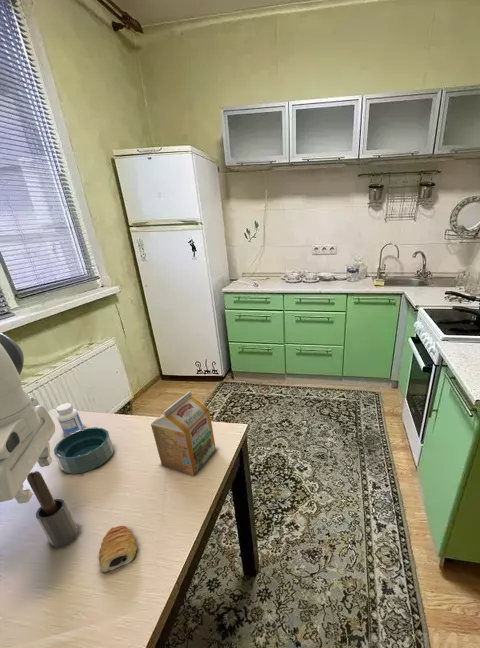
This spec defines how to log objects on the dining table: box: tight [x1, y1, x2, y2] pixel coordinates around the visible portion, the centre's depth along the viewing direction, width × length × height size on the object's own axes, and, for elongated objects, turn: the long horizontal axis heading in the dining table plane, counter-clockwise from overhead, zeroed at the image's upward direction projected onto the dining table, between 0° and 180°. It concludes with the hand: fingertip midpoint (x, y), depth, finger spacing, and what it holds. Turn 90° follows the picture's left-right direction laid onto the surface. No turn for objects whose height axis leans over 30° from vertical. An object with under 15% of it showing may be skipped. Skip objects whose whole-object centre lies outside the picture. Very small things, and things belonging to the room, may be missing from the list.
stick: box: [26, 470, 59, 517], centre depth 66 cm, size 2×2×18 cm
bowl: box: [53, 426, 115, 475], centre depth 91 cm, size 13×13×6 cm
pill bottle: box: [55, 402, 85, 437], centre depth 101 cm, size 6×5×10 cm
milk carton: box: [150, 391, 217, 476], centre depth 87 cm, size 11×10×19 cm
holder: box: [35, 498, 79, 548], centre depth 68 cm, size 5×5×9 cm
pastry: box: [98, 525, 138, 573], centre depth 66 cm, size 9×7×4 cm
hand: (37, 480), depth 63 cm, fingers open, 8 cm apart
